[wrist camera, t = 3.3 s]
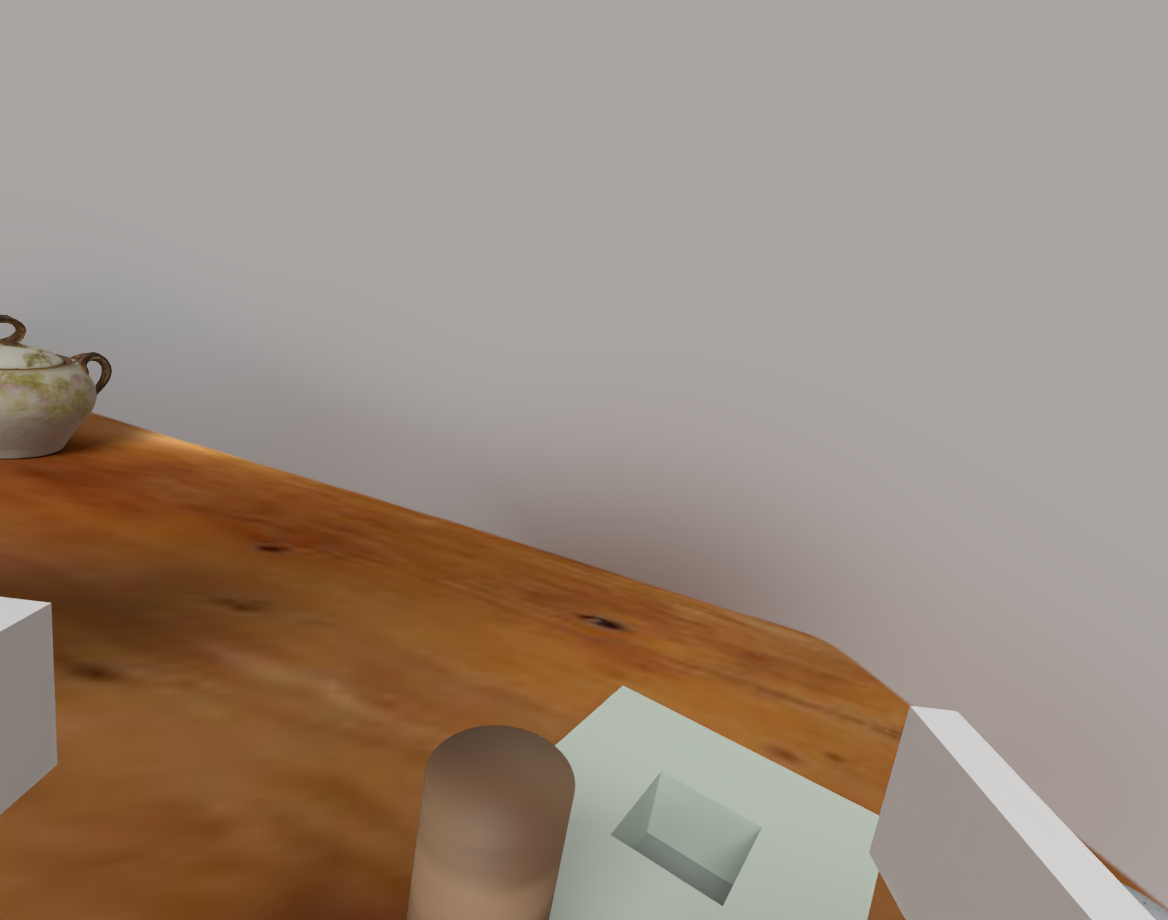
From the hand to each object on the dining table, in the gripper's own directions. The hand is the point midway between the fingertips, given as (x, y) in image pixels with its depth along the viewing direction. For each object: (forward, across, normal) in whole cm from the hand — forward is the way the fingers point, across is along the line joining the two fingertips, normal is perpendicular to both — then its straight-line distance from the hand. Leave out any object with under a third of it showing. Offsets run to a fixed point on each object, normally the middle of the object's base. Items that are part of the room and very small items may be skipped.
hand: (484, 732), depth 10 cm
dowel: (+7, 0, -22) cm, 23 cm away
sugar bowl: (+66, -60, -18) cm, 91 cm away
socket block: (+18, +9, -22) cm, 29 cm away
